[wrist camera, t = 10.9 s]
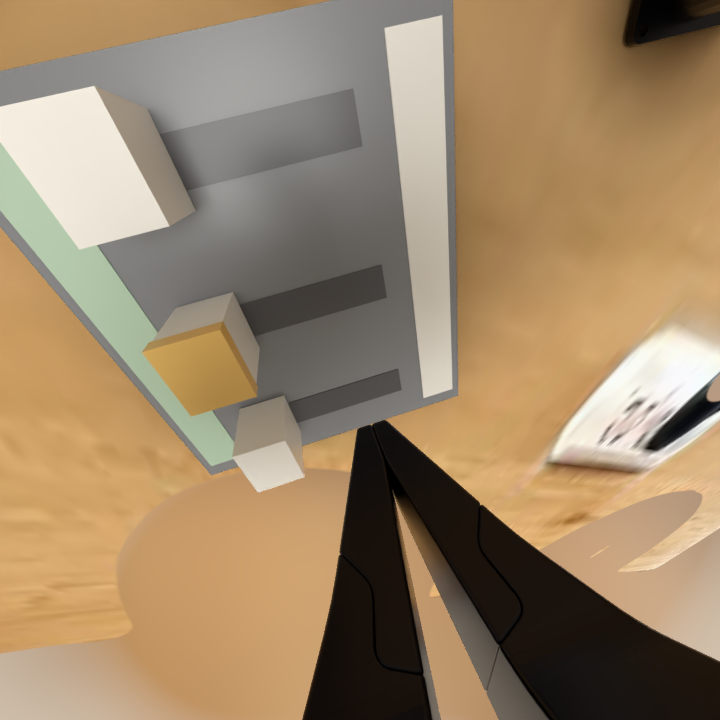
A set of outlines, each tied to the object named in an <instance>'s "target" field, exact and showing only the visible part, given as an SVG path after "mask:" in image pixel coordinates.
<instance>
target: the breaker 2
mask: <svg viewBox="0 0 720 720" xmlns="http://www.w3.org/2000/svg"><path fill="white" fill-rule="evenodd" d="M232 458H233V459H234V461H235V462H236V463H237V465H238V466H239V467H240V469H241V470H242V471H243V473H244V474H245V476H246V477H247V478H248V480H249V481H250V482H251V484H252V485H253V486H254V488H255V489H256V490H257V492H261V491H264V490H267V489H270V488H273V487H276V486H279V485H282V484H285V483H288V482H291V481H295V480H298V479H300V478H304V477H305V474H304V462H303V451H302V440H301V430H300V428H299V426H298V424H297V422H296V420H295V418H294V416H293V413H292V411H291V409H290V407H289V405H288V403H287V401H286V399H285V397H284V395H283V396H280V397H277V398H274V399H270V400H267V401H264V402H261V403H257V404H254V405H251V406H248V407H244V408H241V409H240V410H239V416H238V423H237V430H236V436H235V443H234V449H233V456H232Z"/></svg>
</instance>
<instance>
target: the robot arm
mask: <svg viewBox="0 0 720 720" xmlns="http://www.w3.org/2000/svg"><path fill="white" fill-rule="evenodd" d="M716 26H720V0H634V3H633V8H632V12H631V17H630V21H629V26H628V30H627V35H626V43H627V45H628V46H629V47H634V46H638V45H642V44H646V43H650V42H654V41H659V40H663V39H667V38H671V37H675V36H679V35H683V34H687V33H691V32H696V31H700V30H704V29H708V28H712V27H716ZM639 29H640V33H639ZM393 494H394V495H393ZM394 497H395V499H396V502H397V504H398V506H399V508H400V511H401V513H402V515H403V517H404V519H405V521H406V523H407V525H408V528H409V530H410V532H411V534H412V536H413V538H414V540H415V542H416V545H417V547H418V549H419V551H420V553H421V555H422V557H423V559H424V561H425V563H426V566H427V568H428V570H429V572H430V574H431V576H432V579H433V581H434V583H435V585H436V587H437V589H438V591H439V593H440V596H441V598H442V600H443V602H444V604H445V606H446V608H447V610H448V613H449V614H450V617H451V619H452V621H453V623H454V625H455V627H456V630H457V632H458V634H459V636H460V638H461V640H462V642H463V644H464V646H465V649H466V651H467V653H468V655H469V657H470V659H471V661H472V663H473V665H474V668H475V670H476V672H477V674H478V676H479V678H480V680H481V682H482V685H483V687H484V689H485V690H486V691H487V695H488V697H489V700H490V702H491V704H492V706H493V708H494V710H495V712H496V714H497V717H498V719H499V720H720V661H718V660H716V659H714V658H712V657H709V656H707V655H705V654H703V653H701V652H699V651H697V650H695V649H692V648H690V647H688V646H686V645H684V644H682V643H680V642H678V641H675V640H673V639H671V638H669V637H667V636H665V635H663V634H661V633H659V632H658V631H656V630H654V629H651V628H650V627H648V626H647V625H645V624H643V623H642V622H640V621H638V620H637V619H635V618H633V617H632V616H630V615H629V614H627V613H626V612H624V611H623V610H621V609H619V608H618V607H617V606H615V605H614V604H612V603H611V602H610V601H608V600H607V599H605V598H604V597H603V596H601V595H600V594H598V593H597V592H596V591H594V590H593V589H591V588H590V587H589V586H587V585H586V584H585V583H583V582H582V581H580V580H579V579H578V578H576V577H575V576H573V575H572V574H571V573H569V572H568V571H566V570H565V569H564V568H562V567H561V566H559V565H558V564H557V563H555V562H554V561H553V560H551V559H550V558H548V557H547V556H546V555H544V554H543V553H541V552H540V551H539V550H538V549H536V548H535V547H534V546H532V545H531V544H530V543H528V542H527V541H526V540H524V539H523V538H522V537H520V536H519V535H518V534H516V533H515V532H514V531H513V530H512V529H510V528H509V527H508V526H507V525H506V524H504V523H503V522H502V521H501V520H500V519H498V518H497V517H496V516H495V515H494V514H493V513H491V512H490V511H489V510H488V509H487V508H486V507H485V506H483V505H480V502H479V501H478V500H476V499H475V498H474V497H473V496H472V495H471V494H470V493H468V492H467V491H466V490H465V489H464V488H463V487H462V486H460V485H459V484H458V483H457V482H456V481H455V480H454V479H452V478H451V477H450V476H449V475H448V474H447V473H446V472H444V471H443V470H442V469H441V468H440V467H439V466H438V465H436V464H435V463H434V462H433V461H432V460H431V459H430V458H429V457H427V456H426V455H425V454H424V453H423V452H422V451H421V450H419V449H418V448H417V447H416V446H415V445H414V444H413V443H411V442H410V441H409V440H408V439H407V438H406V437H405V436H403V435H402V434H401V433H400V432H399V431H398V430H397V429H395V428H394V427H393V426H392V425H391V424H390V423H389V422H387V421H386V420H382V421H379V422H376V423H374V424H373V425H372V426H371V425H367V426H364V427H361V428H359V429H358V430H357V436H356V442H355V449H354V456H353V463H352V470H351V477H350V483H349V490H348V497H347V504H346V511H345V517H344V525H343V531H342V538H341V545H340V554H341V555H339V558H338V564H337V571H336V577H335V582H334V588H333V594H332V600H331V605H330V609H329V614H328V618H327V622H326V627H325V631H324V636H323V640H322V644H321V648H320V652H319V656H318V660H317V663H316V668H315V672H314V676H313V680H312V683H311V687H310V692H309V696H308V699H307V704H306V707H305V711H304V715H303V719H302V720H441V718H440V713H439V711H438V704H437V699H436V694H435V689H434V685H433V680H432V675H431V670H430V665H429V661H428V656H427V651H426V646H425V641H424V636H423V632H422V627H421V622H420V617H419V612H418V608H417V603H416V598H415V593H414V588H413V584H412V579H411V574H410V569H409V564H408V560H407V555H406V551H405V545H404V541H403V536H402V531H401V526H400V521H399V516H398V512H397V508H396V503H395V499H394Z"/></svg>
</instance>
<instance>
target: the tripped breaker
mask: <svg viewBox="0 0 720 720" xmlns="http://www.w3.org/2000/svg"><path fill="white" fill-rule="evenodd" d="M259 352H260V347H259V345H258V343H257V341H256V339H255V337H254V335H253V333H252V331H251V328H250V326H249V324H248V322H247V320H246V318H245V316H244V314H243V312H242V310H241V308H240V306H239V303H238V301H237V299H236V297H235V295H234V293H233V292H230V293H227V294H223V295H220V296H216V297H212V298H209V299H205V300H202V301H198V302H195V303H191V304H187V305H184V306H180V307H177V308H175V309H174V311H173V312H172V314H171V315H170V316H169V318H168V319H167V321H166V322H165V324H164V325H163V326H162V328H161V329H160V331H159V332H158V334H157V335H156V336H155V338H154V339H153V341H152V342H149V343H148V344H147V346H146V347H145V349H144V350H143V351H142V353H143V354H144V356H145V357H146V358H147V360H148V361H149V362H150V364H151V365H152V366H153V367H154V369H155V370H156V371H157V373H158V374H159V375H160V377H161V378H162V379H163V380H164V382H165V383H166V384H167V386H168V387H169V388H170V390H171V391H172V392H173V394H174V395H175V396H176V397H177V399H178V400H179V401H180V403H181V404H182V405H183V407H184V408H185V409H186V410H187V412H188V413H189V414H190V416H191V417H192V416H195V415H199V414H202V413H205V412H208V411H212V410H215V409H218V408H221V407H225V406H228V405H231V404H234V403H238V402H241V401H244V400H248V399H251V398H254V397H257V389H258V386H257V373H258V363H259Z"/></svg>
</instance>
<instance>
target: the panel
mask: <svg viewBox="0 0 720 720" xmlns="http://www.w3.org/2000/svg"><path fill="white" fill-rule="evenodd" d="M91 86H96V87H98V88H101V89H103V90H105V91H108V92H110V93H112V94H115V95H117V96H120V97H122V98H124V99H127V100H129V101H131V102H134V103H136V104H139V105H141V106H143V107H146V108H147V109H148V111H149V114H150V116H151V118H152V120H153V122H154V124H155V126H156V128H157V130H158V132H159V135H160V137H161V139H162V141H163V143H164V145H165V147H166V149H167V151H168V153H169V156H170V158H171V160H172V162H173V164H174V166H175V168H176V170H177V172H178V174H179V176H180V179H181V181H182V183H183V185H184V187H185V189H186V191H187V193H188V195H189V197H190V200H191V202H192V204H193V206H194V208H195V210H196V211H195V212H193V213H191V214H190V215H188V216H186V217H185V218H183V219H181V220H179V221H178V222H176V223H174V224H173V225H171V226H169V227H165V228H161V229H157V230H153V231H149V232H145V233H142V234H138V235H134V236H130V237H126V238H122V239H118V240H115V241H111V242H107V243H103V244H99V245H95V246H91V247H88V248H84V249H80V250H79V249H78V247H77V246H76V244H75V243H74V242H73V240H72V239H71V238H70V236H69V235H68V234H67V232H66V231H65V230H64V228H63V227H62V225H61V224H60V223H59V221H58V220H57V219H56V217H55V216H54V215H53V213H52V212H51V211H50V209H49V208H48V206H47V205H46V204H45V202H44V201H43V200H42V198H41V197H40V196H39V194H38V193H37V191H36V190H35V189H34V187H33V186H32V185H31V183H30V182H29V181H28V179H27V178H26V177H25V175H24V174H23V172H22V171H21V170H20V168H19V167H18V166H17V164H16V163H15V162H14V160H13V159H12V158H11V156H10V155H9V153H8V152H7V151H6V149H5V148H4V147H3V145H2V144H1V143H0V227H1V228H2V230H3V231H4V232H5V233H6V234H7V235H8V237H9V238H10V239H11V240H12V241H13V243H14V244H15V245H16V246H17V247H18V248H19V250H20V251H21V252H22V253H23V254H24V255H25V257H26V258H27V259H28V260H29V261H30V263H31V264H32V265H33V266H34V267H35V268H36V270H37V271H38V272H39V273H40V274H41V275H42V277H43V278H44V279H45V280H46V281H47V283H48V284H49V285H50V286H51V287H52V288H53V290H54V291H55V292H56V293H57V294H58V295H59V297H60V298H61V299H62V300H63V301H64V303H65V304H66V305H67V306H68V307H69V308H70V310H71V311H72V312H73V313H74V314H75V315H76V317H77V318H78V319H79V320H80V321H81V322H82V324H83V325H84V326H85V327H86V328H87V330H88V331H89V332H90V333H91V334H92V335H93V337H94V338H95V339H96V340H97V341H98V342H99V344H100V345H101V346H102V347H103V348H104V350H105V351H106V352H107V353H108V354H109V355H110V357H111V358H112V359H113V360H114V361H115V362H116V364H117V365H118V366H119V367H120V368H121V370H122V371H123V372H124V373H125V374H126V375H127V377H128V378H129V379H130V380H131V381H132V382H133V384H134V385H135V386H136V387H137V388H138V390H139V391H140V392H141V393H142V394H143V395H144V397H145V398H146V399H147V400H148V401H149V402H150V404H151V405H152V406H153V407H154V408H155V410H156V411H157V412H158V413H159V414H160V415H161V417H162V418H163V419H164V420H165V421H166V422H167V424H168V425H169V426H170V427H171V428H172V429H173V431H174V432H175V433H176V434H177V435H178V437H179V438H180V439H181V440H182V441H183V442H184V444H185V445H186V446H187V447H188V448H189V449H190V451H191V452H192V453H193V454H194V455H195V457H196V458H197V459H198V460H199V461H200V462H201V464H202V465H203V466H204V467H205V468H206V469H207V471H208V472H209V473H210V474H211V475H214V474H217V473H220V472H223V471H226V470H229V469H232V468H235V467H238V465H237V463H236V462H235V461H234V459H233V458H232V456H233V449H234V443H235V436H236V430H237V423H238V416H239V410H240V409H241V408H244V407H248V406H251V405H254V404H257V403H261V402H264V401H267V400H270V399H274V398H277V397H280V396H283V395H284V397H285V399H286V401H287V403H288V405H289V407H290V409H291V411H292V413H293V416H294V418H295V420H296V422H297V424H298V426H299V428H300V430H301V440H302V446H304V445H307V444H310V443H313V442H316V441H319V440H322V439H325V438H328V437H331V436H335V435H338V434H341V433H344V432H347V431H350V430H353V429H356V428H359V427H362V426H366V425H369V424H372V423H375V422H378V421H381V420H384V419H387V418H390V417H393V416H397V415H400V414H403V413H406V412H409V411H412V410H415V409H418V408H421V407H424V406H428V405H431V404H434V403H437V402H440V401H443V400H446V399H449V398H452V397H455V396H458V349H457V272H456V195H455V119H454V42H453V0H331V1H327V2H322V3H317V4H313V5H308V6H303V7H299V8H294V9H289V10H285V11H280V12H275V13H271V14H266V15H261V16H256V17H252V18H247V19H242V20H238V21H233V22H228V23H224V24H219V25H214V26H210V27H205V28H200V29H196V30H191V31H186V32H181V33H177V34H172V35H167V36H163V37H158V38H153V39H149V40H144V41H139V42H135V43H130V44H125V45H120V46H116V47H111V48H106V49H102V50H97V51H92V52H88V53H83V54H78V55H74V56H69V57H64V58H60V59H55V60H50V61H45V62H41V63H36V64H31V65H27V66H22V67H17V68H13V69H8V70H3V71H0V107H1V106H5V105H10V104H14V103H19V102H23V101H28V100H32V99H37V98H42V97H46V96H51V95H55V94H60V93H64V92H69V91H73V90H78V89H82V88H87V87H91ZM230 292H233V293H234V295H235V297H236V299H237V301H238V303H239V306H240V308H241V310H242V312H243V314H244V316H245V318H246V320H247V322H248V324H249V326H250V328H251V331H252V333H253V335H254V337H255V339H256V341H257V343H258V345H259V347H260V352H259V363H258V373H257V386H258V389H257V397H254V398H251V399H248V400H244V401H241V402H238V403H234V404H231V405H228V406H225V407H221V408H218V409H215V410H212V411H208V412H205V413H202V414H199V415H195V416H192V417H191V416H190V414H189V413H188V412H187V410H186V409H185V408H184V407H183V405H182V404H181V403H180V401H179V400H178V399H177V397H176V396H175V395H174V394H173V392H172V391H171V390H170V388H169V387H168V386H167V384H166V383H165V382H164V380H163V379H162V378H161V377H160V375H159V374H158V373H157V371H156V370H155V369H154V367H153V366H152V365H151V364H150V362H149V361H148V360H147V358H146V357H145V356H144V354H143V353H142V351H143V350H144V349H145V347H146V346H147V344H148V343H149V342H152V341H153V339H154V338H155V336H156V335H157V334H158V332H159V331H160V329H161V328H162V326H163V325H164V324H165V322H166V321H167V319H168V318H169V316H170V315H171V314H172V312H173V311H174V309H175V308H177V307H180V306H184V305H187V304H191V303H195V302H198V301H202V300H205V299H209V298H212V297H216V296H220V295H223V294H227V293H230Z"/></svg>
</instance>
